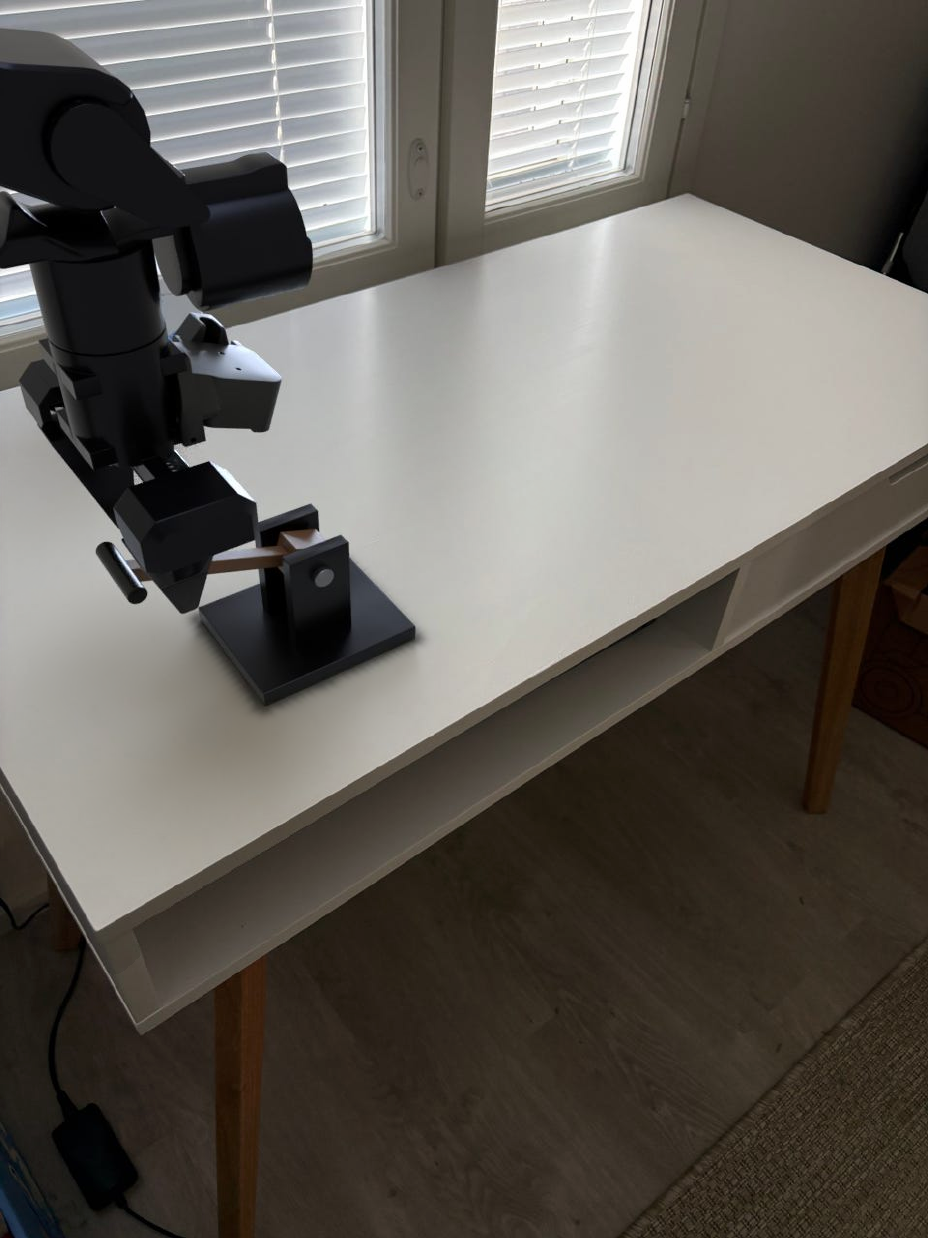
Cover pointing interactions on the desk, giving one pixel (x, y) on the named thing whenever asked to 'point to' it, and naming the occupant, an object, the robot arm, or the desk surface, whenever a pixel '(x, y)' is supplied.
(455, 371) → the desk surface
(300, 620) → the bracket
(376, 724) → the desk surface
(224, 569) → the lever
